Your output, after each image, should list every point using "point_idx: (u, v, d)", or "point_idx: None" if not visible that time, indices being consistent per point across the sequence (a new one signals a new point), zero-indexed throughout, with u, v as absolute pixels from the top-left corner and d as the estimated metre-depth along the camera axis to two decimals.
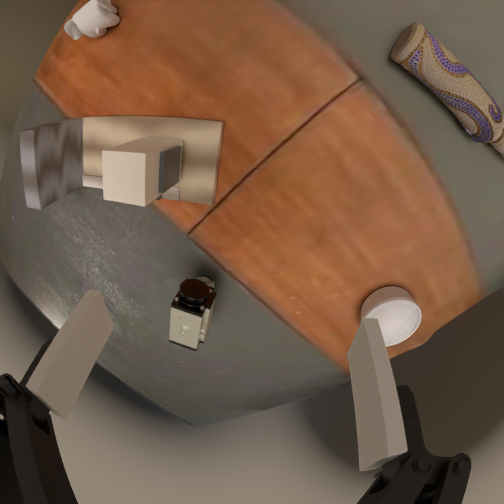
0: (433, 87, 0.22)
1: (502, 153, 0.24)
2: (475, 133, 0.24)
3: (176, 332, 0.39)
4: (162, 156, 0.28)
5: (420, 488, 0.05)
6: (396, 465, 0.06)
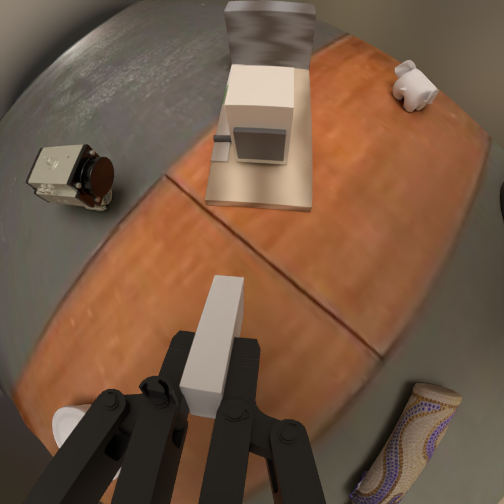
0: (400, 435, 0.21)
1: None
2: (361, 492, 0.20)
3: (50, 155, 0.23)
4: (281, 132, 0.24)
5: (247, 436, 0.07)
6: None
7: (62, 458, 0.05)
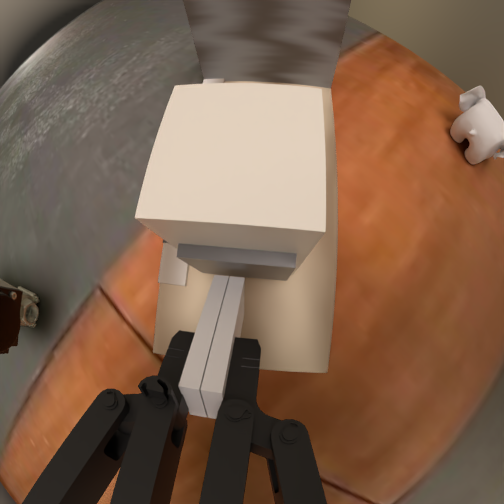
0: None
1: None
2: None
3: None
4: (284, 260, 0.11)
5: (248, 436, 0.07)
6: None
7: (61, 458, 0.05)
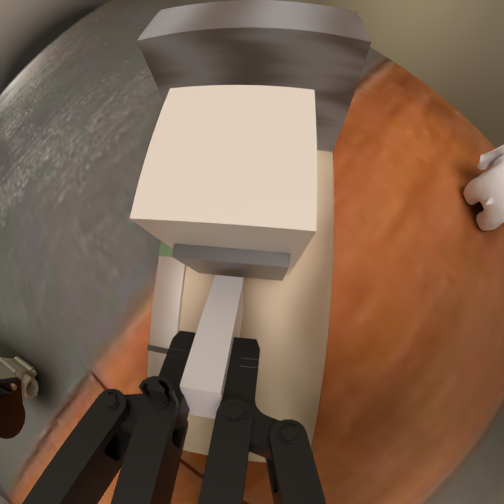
0: None
1: None
2: None
3: None
4: (278, 260, 0.11)
5: (247, 436, 0.07)
6: None
7: (62, 458, 0.05)
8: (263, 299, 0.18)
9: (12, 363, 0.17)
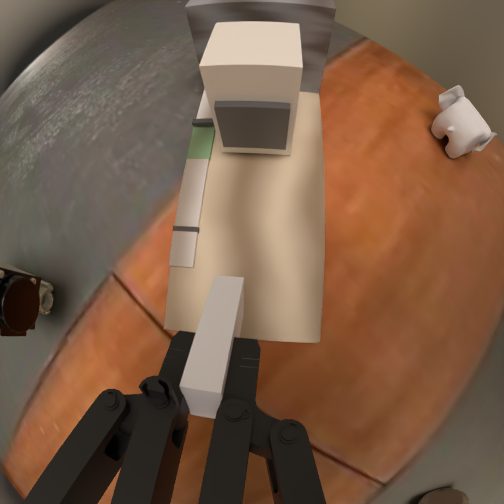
0: None
1: None
2: None
3: None
4: (283, 106, 0.16)
5: (247, 436, 0.07)
6: None
7: (62, 458, 0.05)
8: (271, 185, 0.22)
9: None
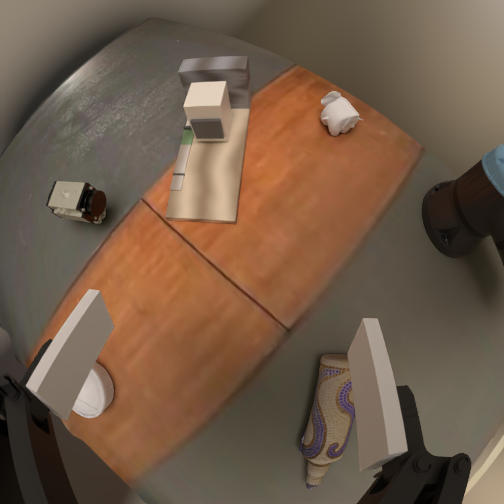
0: (317, 396, 0.35)
1: (308, 474, 0.32)
2: (304, 445, 0.33)
3: (62, 187, 0.37)
4: (217, 120, 0.40)
5: (420, 488, 0.05)
6: (396, 465, 0.06)
7: None
8: (218, 155, 0.46)
9: None
